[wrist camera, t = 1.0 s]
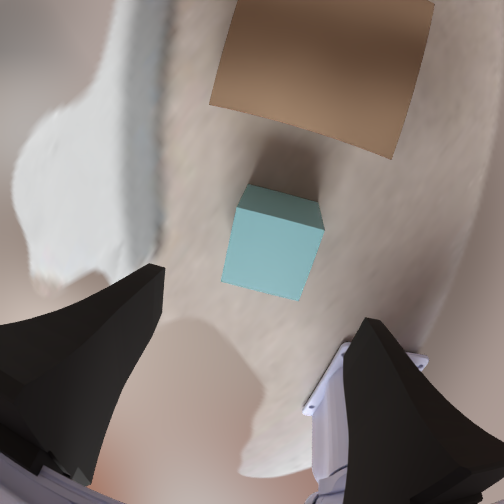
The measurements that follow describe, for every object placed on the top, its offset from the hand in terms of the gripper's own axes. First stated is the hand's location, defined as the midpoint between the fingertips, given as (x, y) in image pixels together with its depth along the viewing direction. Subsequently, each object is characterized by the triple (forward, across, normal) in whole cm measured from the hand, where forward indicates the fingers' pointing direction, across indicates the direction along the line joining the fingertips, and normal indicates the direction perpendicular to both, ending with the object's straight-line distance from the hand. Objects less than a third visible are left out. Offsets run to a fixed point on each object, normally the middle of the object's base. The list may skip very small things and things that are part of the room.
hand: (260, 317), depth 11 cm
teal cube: (+8, 0, 0) cm, 8 cm away
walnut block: (+9, 0, -10) cm, 13 cm away
